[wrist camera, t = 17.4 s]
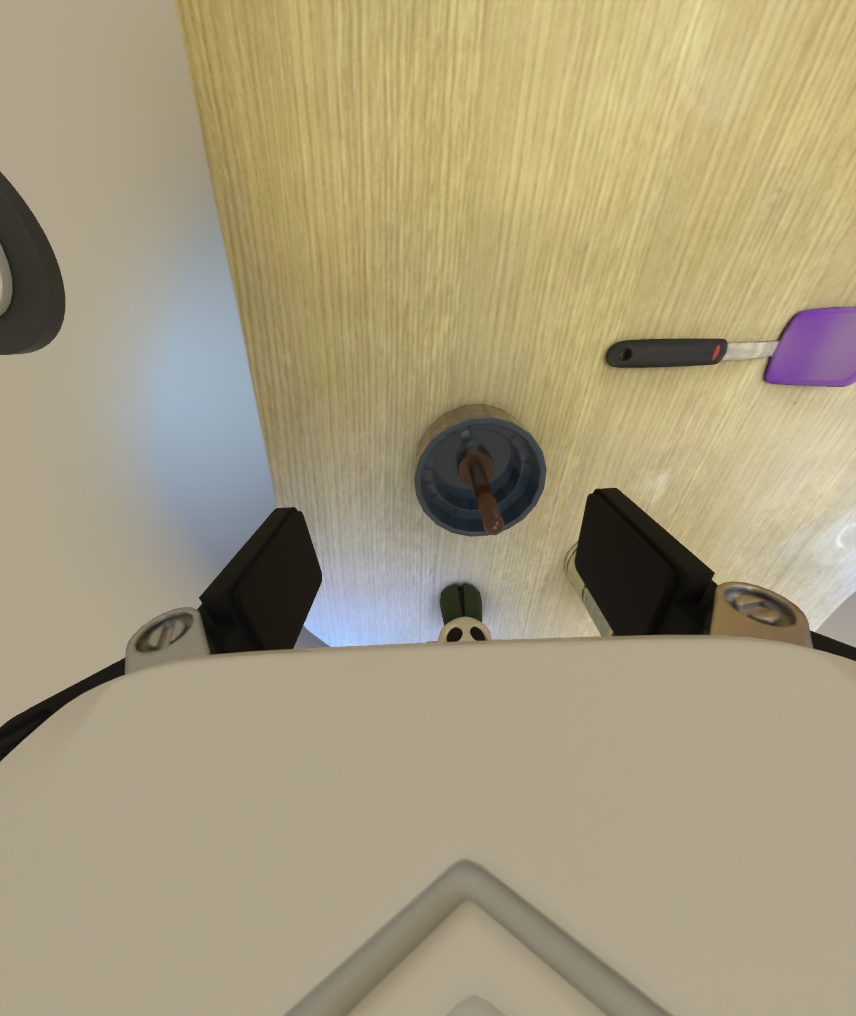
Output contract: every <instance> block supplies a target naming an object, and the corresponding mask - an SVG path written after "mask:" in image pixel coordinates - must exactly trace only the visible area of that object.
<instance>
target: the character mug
mask: <svg viewBox="0 0 856 1016" xmlns="http://www.w3.org/2000/svg"><path fill="white" fill-rule="evenodd" d="M463 586H464V591H463V590H459V591H458V585H453V586H450V587H448V588H446V589H445V590H444V591H443V592H442V594H441V598H440V607H441V612H442V617H443V621H444V625H445V626H444V627H443V628H442V629H441V632H440V634H439V638H438V641H430V642H426V643H439V642H463V641H489V640H492V638H491V634H490V631H489V630H488V628H487V627H486V626H485V625H484V624H483V623H482V600H481V596H480V592H479V591H478V590H476V589H475V588H474V587H473V586H470V585H467V584H463ZM501 640H502V639H501Z"/></svg>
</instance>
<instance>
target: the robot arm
mask: <svg viewBox="0 0 856 1016" xmlns="http://www.w3.org/2000/svg"><path fill="white" fill-rule="evenodd" d="M12 293H13V286H12V275H11V271H10V267H9V263H8V260H7V258H6V255H5V253H4V250H3V248H2V246H1V244H0V316H1V315H2V314H3V313H5V312H6V310H7V308H8V306H9V305H10V303H11V298H12ZM574 562H575V568H576V571H577V572H578V574H579V576H580V577H581V579H582V581H583V582H584V584H585V586H586V587H587V589H588V591H589V593H590V594H591V596H592V598H593V599H594V601H595V603H596V604H597V606H598V608H599V609H600V611H601V613H602V614H603V616H604V618H605V619H606V621H607V623H608V624H609V626H610V628H611V629H612V631H613V633H614V634H615V636H601V637H572V638H543V639H514V640H489V641H463V642H439V643H414V644H390V645H369V646H347V647H325V648H304V649H293V648H294V645H295V643H296V641H297V638H298V636H299V634H300V631H301V629H302V627H303V625H304V622H305V620H306V618H307V615H308V613H309V611H310V608H311V606H312V604H313V601H314V599H315V597H316V594H317V592H318V590H319V587H320V585H321V582H322V572H321V569H320V566H319V562H318V559H317V556H316V553H315V550H314V547H313V544H312V540H311V537H310V534H309V531H308V528H307V525H306V522H305V518H304V515H303V513H302V512H301V511H297V509H296V508H294V507H289V508H276V509H275V510H274V511H273V512H272V513H271V514H270V515H269V517H268V518H267V519H266V520H265V521H264V522H263V524H262V525H261V526H260V527H259V529H258V530H257V531H256V532H255V533H254V534H253V535H252V536H251V538H250V539H249V540H248V541H247V542H246V543H245V545H244V546H243V547H242V548H241V549H240V550H239V552H238V553H237V554H236V555H235V556H234V558H233V559H232V560H231V561H230V562H229V563H228V565H227V566H226V567H225V568H224V569H223V571H222V572H221V573H220V574H219V575H218V576H217V578H216V579H215V580H214V581H213V582H212V583H211V584H210V586H209V587H208V588H207V589H206V590H205V591H204V593H203V594H202V595H201V596H200V597H199V599H200V600H201V602H202V604H201V606H200V607H199V608H198V609H194V608H192V607H190V608H189V607H183V608H178V609H174V610H171V611H168V612H166V613H163V614H161V615H160V616H157V617H155V618H153V619H152V620H150V621H149V622H148V623H146V624H145V625H143V626H142V627H141V628H140V629H139V630H138V631H137V632H136V633H135V634H134V635H133V636H132V637H131V639H130V640H129V642H128V644H127V647H126V656H125V658H124V659H122V660H120V661H118V662H116V663H114V664H112V665H110V666H109V667H107V668H105V669H103V670H101V671H99V672H97V673H96V674H93V675H92V676H90V677H88V678H86V679H84V680H82V681H80V682H78V683H76V684H74V685H73V686H71V687H69V688H67V689H65V690H63V691H61V692H59V693H58V694H56V695H54V696H52V697H50V698H48V699H46V700H44V701H42V702H41V703H39V704H37V705H35V706H33V707H31V708H29V709H28V710H26V711H25V712H22V713H20V714H19V715H17V716H15V717H13V718H12V719H10V720H9V721H8V722H6V723H5V724H4V725H3V726H2V727H0V1016H856V648H855V647H852V646H850V645H847V644H844V643H842V642H839V641H836V640H834V639H831V638H829V637H826V636H823V635H821V634H818V633H815V632H813V631H810V629H809V623H808V620H807V618H806V616H805V614H804V613H803V612H802V611H801V610H800V609H799V608H798V607H797V606H796V605H795V604H793V603H792V602H791V601H789V600H788V599H786V598H785V597H783V596H781V595H779V594H777V593H775V592H773V591H771V590H768V589H765V588H763V587H760V586H757V585H753V584H749V583H743V582H725V583H722V584H720V585H717V584H716V583H715V582H714V581H713V580H712V578H713V576H714V574H715V573H714V572H713V571H712V570H711V569H710V568H709V567H707V566H706V565H705V564H704V563H703V562H702V561H700V560H699V559H698V558H697V557H696V556H695V555H694V554H692V553H691V552H690V551H689V550H688V549H687V548H685V547H684V546H683V545H682V544H681V543H680V542H679V541H677V540H676V539H675V538H674V537H673V536H672V535H670V534H669V533H668V532H667V531H666V530H665V529H664V528H662V527H661V526H660V525H659V524H658V523H657V522H655V521H654V520H653V519H652V518H651V517H650V516H649V515H647V514H646V513H645V512H644V511H643V510H642V509H640V508H639V507H638V506H637V505H636V504H635V503H634V502H632V501H631V500H630V499H629V498H628V497H627V496H625V495H624V494H623V493H622V492H621V491H620V490H618V489H617V488H604V489H596V490H594V492H593V494H589V495H588V497H587V501H586V506H585V511H584V516H583V521H582V526H581V531H580V536H579V540H578V545H577V550H576V555H575V561H574Z"/></svg>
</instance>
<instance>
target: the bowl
mask: <svg viewBox="0 0 856 1016" xmlns="http://www.w3.org/2000/svg"><path fill="white" fill-rule="evenodd" d="M471 447H480V448H483V449H485V450H486V451H487V452H488V453H489V454H490V456H491V458H492V461H493V463H494V473H493V475H492V477H491V478H490V480H489V484H490V487H491V490H492V492H493V495H494V498H495V500H496V503H497V506H498V508H499V511H500V514H501V516H502V519H503V522H504V529H503V530H502V531H504V530H506V529H509V528H510V527H512V526H513V525H515V524H517V523H518V522H520V521H521V520H523V519H524V518H525V517H526V515H527V514H528V513H529V512H530V511H531V510H532V509H533V508H534V507H535V506H536V504H537V502H538V500H539V498H540V496H541V494H542V491H543V489H544V485H545V477H546V465H545V460H544V456H543V452H542V450H541V448H540V447H539V445H538V444H537V442H536V441H535V440H534V438H533V437H532V435H531V434H530V433H529V432H528V431H527V430H526V429H525V428H524V426H523V425H522V424H521V423H520V422H519V421H518V420H517V419H516V418H514V417H513V416H511V415H510V414H508V413H507V412H505V411H504V410H502V409H499V408H495V407H491V406H487V405H469V406H462V407H460V408H458V409H455V410H453V411H450V412H448V413H446V414H444V415H443V416H442V417H440V418H439V419H438V420H437V421H436V422H435V423H433V424H432V425H431V426H430V427H429V429H428V431H427V432H426V434H425V435H424V437H423V439H422V440H421V442H420V446H419V450H418V454H417V459H416V468H415V478H414V479H415V489H416V496H417V498H418V501H419V503H420V505H421V507H422V509H423V511H424V512H425V513H426V514H427V515H428V516H429V517H430V518H431V519H432V520H433V521H434V522H435V523H436V524H437V525H439V526H440V527H442V528H444V529H446V530H448V531H450V532H452V533H456V534H461V535H465V536H487V535H491V534H489V533H487V532H486V530H485V529H484V525H483V521H482V518H481V514H480V510H479V506H478V503H477V499H476V495H475V491H474V488H473V486H471V485H468V484H466V483H465V482H463V481H462V480H461V478H460V476H459V473H458V468H457V461H458V458H459V456H460V454H461V453H462V452H463V451H464V450H466V449H468V448H471Z"/></svg>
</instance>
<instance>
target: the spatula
mask: <svg viewBox="0 0 856 1016" xmlns="http://www.w3.org/2000/svg"><path fill="white" fill-rule="evenodd" d="M622 350H626V355H625V356H624V358H623V359H621V358H620V354H621V352H622ZM763 357H771V358H770V361H769V364H768V367H767V370H766V374H765V380H766V381H767V382H769V383H773V384H786V385H804V386H807V385H809V386H827V387H844V386H848V385H851V384H853V383H855V382H856V307H833V308H822V309H810V310H804V311H802V312H800V313H798V314H797V315H796V316H795V317H794V318H793V319H792V320H791V322H790V323H789V324H788V326H787V328H786V329H785V331H784V333H783V334H782V336H781V338H780V339H779V340H778V341H768V342H767V341H766V342H743V343H741V342H739V343H727V341H726V340H725V339H647V340H646V339H644V340H628V341H621V342H618V343H616V344H614V345H613V346H611V348H610V349H609V351H608V352H607V356H606V358H607V362H608V363H609V364H610V365H611V366H613V367H620V368H646V367H676V366H695V365H699V366H700V365H712V364H717V363H718V362H720V361H729V360H748V359H757V358H763Z"/></svg>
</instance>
